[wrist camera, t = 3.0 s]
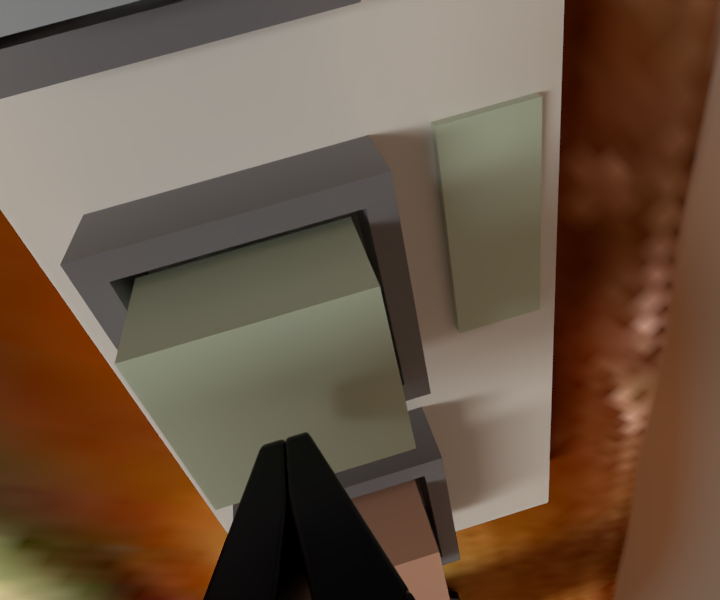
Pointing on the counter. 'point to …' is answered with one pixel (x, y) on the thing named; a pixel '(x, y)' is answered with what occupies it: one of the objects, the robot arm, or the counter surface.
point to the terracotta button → (406, 538)
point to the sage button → (267, 356)
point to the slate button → (47, 12)
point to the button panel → (320, 193)
